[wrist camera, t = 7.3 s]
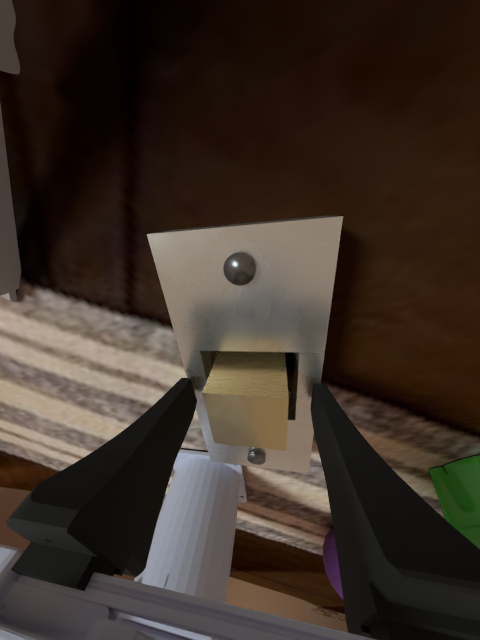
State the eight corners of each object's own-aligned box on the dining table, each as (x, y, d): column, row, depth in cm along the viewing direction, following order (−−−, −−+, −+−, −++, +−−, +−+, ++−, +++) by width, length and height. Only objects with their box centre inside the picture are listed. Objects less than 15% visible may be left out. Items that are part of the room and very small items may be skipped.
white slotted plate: (304, 441, 18) (309, 477, 15) (217, 433, 19) (209, 465, 17) (327, 215, 9) (345, 216, 7) (172, 230, 11) (142, 234, 8)
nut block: (282, 381, 15) (286, 450, 11) (230, 379, 16) (214, 443, 11) (283, 336, 13) (288, 398, 9) (224, 336, 14) (202, 392, 9)
